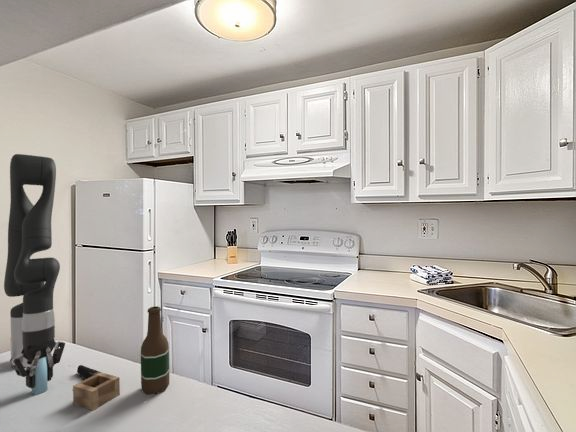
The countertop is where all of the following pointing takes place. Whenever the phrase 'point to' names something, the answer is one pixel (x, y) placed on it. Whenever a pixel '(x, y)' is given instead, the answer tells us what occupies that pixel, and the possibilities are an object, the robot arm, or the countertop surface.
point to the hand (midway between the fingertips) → (39, 383)
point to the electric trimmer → (86, 372)
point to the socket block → (96, 391)
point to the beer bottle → (154, 356)
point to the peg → (40, 376)
